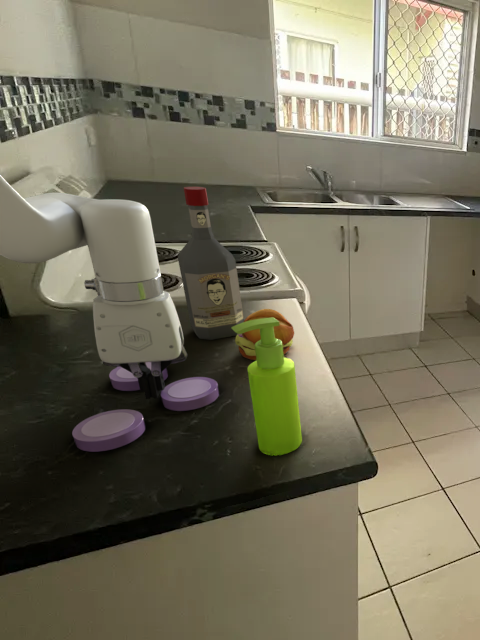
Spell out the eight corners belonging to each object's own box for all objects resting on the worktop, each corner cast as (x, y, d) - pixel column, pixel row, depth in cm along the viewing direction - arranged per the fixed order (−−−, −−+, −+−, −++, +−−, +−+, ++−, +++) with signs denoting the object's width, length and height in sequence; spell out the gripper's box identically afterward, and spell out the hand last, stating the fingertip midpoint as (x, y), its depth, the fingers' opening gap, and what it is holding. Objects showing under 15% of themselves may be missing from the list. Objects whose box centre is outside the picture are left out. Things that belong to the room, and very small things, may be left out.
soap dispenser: (245, 443, 70) (225, 318, 62) (292, 427, 75) (279, 309, 66) (260, 464, 66) (240, 334, 58) (308, 445, 71) (297, 323, 63)
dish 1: (66, 456, 64) (62, 445, 63) (86, 423, 71) (83, 413, 70) (138, 446, 67) (135, 435, 67) (151, 415, 74) (148, 405, 73)
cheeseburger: (271, 335, 103) (274, 296, 98) (304, 360, 99) (308, 321, 94) (225, 350, 95) (226, 307, 90) (259, 378, 91) (261, 335, 86)
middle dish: (157, 414, 75) (154, 404, 74) (168, 388, 81) (166, 379, 81) (215, 407, 78) (214, 397, 77) (221, 383, 84) (220, 374, 84)
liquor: (190, 327, 103) (161, 184, 91) (236, 319, 109) (215, 184, 97) (199, 342, 97) (170, 192, 85) (248, 333, 103) (227, 191, 91)
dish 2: (105, 393, 78) (102, 383, 77) (119, 371, 85) (116, 361, 84) (163, 387, 81) (160, 378, 80) (172, 366, 88) (170, 357, 87)
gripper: (55, 297, 64) (88, 412, 71) (187, 294, 69) (204, 401, 77) (76, 279, 70) (104, 387, 77) (195, 279, 76) (210, 379, 83)
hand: (154, 394), depth 77 cm, fingers closed
